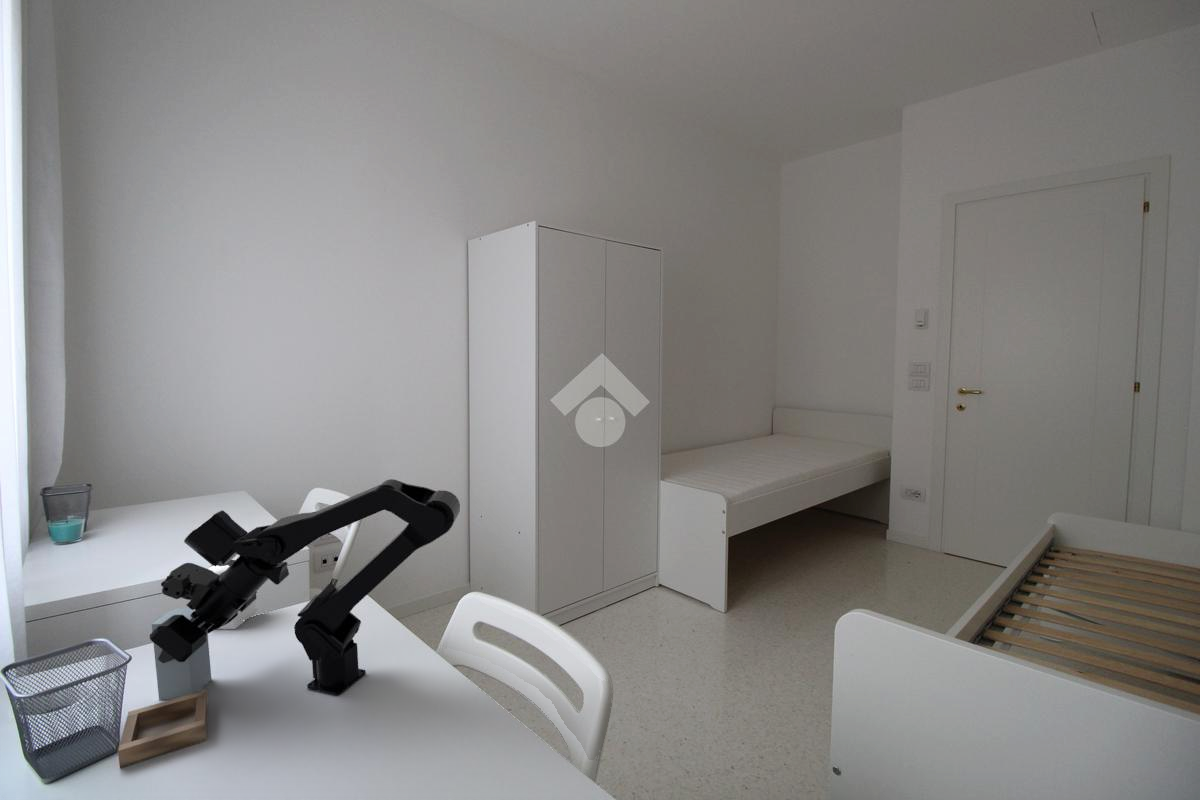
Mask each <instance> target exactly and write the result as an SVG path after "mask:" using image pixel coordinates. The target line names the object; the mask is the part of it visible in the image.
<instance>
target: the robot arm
mask: <svg viewBox="0 0 1200 800" xmlns="http://www.w3.org/2000/svg"><path fill="white" fill-rule="evenodd" d="M381 511H386V512H390V513H391V514H393V515H394V516H395V517H398V518H399V519H401V520H402V521H403V522H406V523H407V525H406V526H405V527H404V528H403V530H401V531H400V532H399V533H398V534H397V535H396V536H395V537H394V538H393V539H392V540H391V541H389V543H387V544H386V545H385V546H384V547H383V548H382V549H381V550H380V551H379V552H378V553H376V554H375V555H374V556H373V557H372V558H371V559H370V560H369V561H368V562H367V563H365V564H364V565H363V566H362V567H361V568H360V569H359V570H358V571H357V572H355V574H354V575H352V576H351V577H350V578H349V579H348V580H347V581H346V582H344V583H343V584H342V585H338V586H337V587H336V586H335V585H334V583H333V582H332V581H330V582H329V583H328V584H327V585H326V586H325V587H324V589H322V591H321V592H320V593H318V594H316V595H314V596H313V597H312V599H311V600H310V601H309V602H308V603H307V604H306V605H305V606H304V607H303V608H302V609H301V610H300V611H299V612H298V613H297V616H298V617H299V618H298V619H297V620H296V622H295V624H294V626H293V629H294V635H295V638H296V639H297V641H298V643H300V644H301V645H302V648H303V649H304V651H305V653H306V656H307V658H308V660H309V661H311V663H312V665H311V666H312V667H311V668H312V677H313V680H311V681H310V682H309V683H308V684H307V685H306V687H307V689H308V690H313V691H317V692H321V693H326V694H330V695H334V696H339V695H341V694H342V693H344V692H345V691H346V690H347V689H349V688H350V687H351V686H352V685H353V684H355V683H356V682H357V681H359V680H360V679H361V678H362V677H363V676H365V675H366V674H367V673H366V672H367V670H365V669H361V668H359V653H358V643H356V642H355V640H354V637H355V636H356V634H358V633H359V629H360V627H361V624H362V621H361V619H359V618H358V617H357V616H356V615H355V614H354V613H352V612H351V611H352V610H353V609H354V607H355V606H357V605H358V604H359V603H360V602H361V601H362V600H364V599H365V597H366V596H367V595H369V594H370V593H371V592H372V591H373V590H374V589H376V587H377V586H379V585H380V584H381V583H382V582H383V581H384V580H385V579H386V578H387V577H388V576H389V575H390V574H391V573H392V572H394V571H395V570H396V569H397V568H398V567H399V566H400V565H401V564H403V562H405V560H407V559H408V558H409V557H411V555H412V554H413V553H414V552H416V551H417V550H419V549H420V548H423V547H425V546H427V545H429V544H431V543H433V542H434V541H435V540H438V539H439V538H441V537H442V536H443V535H445V534H447V533H448V532H449V531H450V530H451V529H452V527H453V525H454V524H455V522H456V519H457V518H458V516H459V514H460V511H461V503H460V501H459V498H458V497H457V496H456V495H455V494H454V493H452V492H451V491H448V490H441V489H440V490H434V489H431V488H429V487H424V486H420V485H413V484H409V483H405V482H402V481H400V480H397V479H394V478H393V479H386V480H384V481H383V482H382V483H381V484H378V485H376V486H374V487H371V488H369V489H366V490H364V491H362V492H360V493H356V494H354V495H352V496H351V497H347V498H345V499H344V500H341V501H338V502H336V503H334V504H332V505H328V506H326V507H324V508H322V509H319V510H316V511H313V512H302V513H297V514H294V515H289V516H284V517H282V518H280V519H279V520H276V521H275V522H273V523H271V524H268V525H263V526H257V527H254V528H253V529H251V530H250V531H247V530H246V529H244V528H243V527H242V526H241V525H240V524H238V523H237V522H236V521H235V520H233V518H232V517H231V516H230V515H229V514H228V513H227V512H226V511H224V510H219V511H217V512H216V513H214V514H213V515H212V516H211V517H210V518H209V519H207V520H206V521H205V522H203V523H202V524H201V525H200V526H198V527H197V528H195V529H194V530H192V531H191V532H190V533H189V534H188V535H187V536H186V537H185V539H184V540H183V542H184V544H185V545H187V546H188V547H190V548H191V549H192V550H193V551H194V552H196V553H197V554H198V555H199V556H200V557H202V558H203V559H204V560H206V562H208V563H209V564H210V566H212V565H214V566H217V565H218V564H219V563H220V562H221V563H222V564H224V565H225V564H226V563H228V562H229V561H230V560H235V561H234V563H233V564H232V565H231V566H230V567H229V568H228V569H227V570H226V571H224V572H223V573H222V574H221V575H218V574H216V573H214V572H213V571H211V570H209V569H208V568H206V567H203V566H201V565H199V564H195V563H193V562H186V563H183V564H182V565H179V566H178V567H176V568H174V569H173V570H171V571H170V572H169V574H168V575H167V576H166V578H165V580H163V581H162V582H161V583H160V585H161V587H162V589H161V592H162V594H163V596H167V597H170V598H172V599H176V600H178V599H181V598H182V599H184V600H186V601H188V600H189V602H187V604H186V607H187V608H190V609H192V610H194V609H195V611H194V612H193V613H191V614H190V616H191V617H192V618H194V619H196V618H197V617H198V618H197V619H196V620H194V621H193V622H191V621H190V620H189V619H187V618H186V617H185V616H184V615H173V616H172V617H170V618H169V619H168V620H166V621H165V622H163V623H162V624H161V625H159V626H158V627H157V628H156V629H155V630H154V631H153V632H152V631H151V633H150V634H149V640H150V641H151V642H154V643H155V644H156V645H158V646H159V647H160V648H161V649H163V650H162V652H161V654H160V656H159V658H158V660H159V661H160V662H162V663H166V662H168V661H171V660H173V659H175V660H177V661H178V662H185V661H186V660H187V659H188V658H189V657H190V656H192V655H193V654H194V653H195V652H196V651H197V650H198V649H199V648H200V647H202V646H203V645H204V643H205V642H206V636H207V633H208V634H210V633H212V632H214V631H215V630H219V629H218V628H220V627H222V626H224V625H226V624H228V623H229V622H231V621H232V620H233V619H234V618H235V617H236V616H237V615H238V613H237V612H238V611H240V612H243V611H244V610H245V609H246V608H247V607H248V606H249V605H250V604H251V603H252V602H253V601H254V600H255V599H256V600H257V593H258V591H259V590H260V588H262V586H263V585H264V584H266V582H267V581H268V580H269V581H270V582H272V583H273V584H274V585H277V586H278V585H279V584H281V583H282V582H283V581H284V580H285V579H286V578H288V576H289V575H290V572H289V568H288V562H287V561H286V560H288V559H289V558H291V557H292V556H293V555H296V554H297V553H298V552H299V551H301V550H303V549H304V548H306V547H307V546H309V545H310V544H311V543H313V542H314V541H316V540H317V539H319V538H321V537H324V536H326V535H328V534H330V533H332V532H335V531H338V530H340V529H342V528H344V527H347V526H349V525H352V524H354V523H356V522H358V521H360V520H363V519H365V518H367V517H370V516H373V515H375V514H377V513H379V512H381ZM237 555H238V557H237V558H236V559H234V558H235V557H236V556H237ZM204 622H206V623H204ZM203 623H204V624H203ZM201 624H203V625H202V626H201V627H200V628H199V626H200V625H201ZM206 630H207V633H206ZM154 643H153V644H154Z"/></svg>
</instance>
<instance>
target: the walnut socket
mask: <svg viewBox="0 0 1200 800" xmlns="http://www.w3.org/2000/svg"><path fill="white" fill-rule="evenodd" d="M208 711H209V699H208V690H207V689H204V690H200V691H199V692H197V693H193V694H190V695H186V696H183V697H179V698H176V699H168V700H166V701H162V702H159V703H155V704H150V705H148V706H144V707H141V708H138V709H133V710H129V711H128V712H127V716H126V719H125V723H124V728H123V730H122V734H121V738H120V742H119V745H118V749H117V756H118V763H119V764H118V765H119V769H122V768H126V767H128V766H132V765H135V764H138V763H141V762H144V761H147V760H151V759H153V758H157V757H159V756H162V755H165V754H169V753H173V752H174V751H177V750H181V749H185V748H187V747H191V746H194V745H197V744H199V743H202V742H206V741H207V734H208V733H207V732H208V714H209V712H208Z"/></svg>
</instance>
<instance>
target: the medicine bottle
mask: <svg viewBox="0 0 1200 800" xmlns="http://www.w3.org/2000/svg"><path fill="white" fill-rule="evenodd" d="M235 560H236V559H232V560H230V561H229V562H228V563H226V564H225V565H224V564H222V563H221V562H220V563H219V564H218V565H217V566H214V565H210V566H209V567H208V568H207V569H209V570H211V571H213V572H214V573H216V574H218V575H221V574H222V573H223V572H224V571H226V570H227V569H228V568H229V567H230V566H231V565H232V564H233V563H234V561H235ZM237 613H238V615H237V616H236V617H235V618H234V619H233V620H232V621H231V622H229V623H228V624H226V625H224V626H222V627H220V628H218V629H217V630H236V629H237V628H238V627H240V626H241V625H243V624H244V623H245V622H246V621H247V620H246V619H248V620H249V619H250V618H251V617H253V616H255V615H256V614H257V613H258V602H257V598H256V599H255V600H254V601H253V602H252V603H251V604H250V605H249V606H248V607H247V608H246V609H245V610H244V611H243V612H240V611H238V612H237ZM243 620H246V621H243Z"/></svg>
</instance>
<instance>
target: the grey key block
mask: <svg viewBox="0 0 1200 800" xmlns="http://www.w3.org/2000/svg"><path fill="white" fill-rule="evenodd" d="M194 611H195V609H194V610H192V609H190V608H189V607H187V608H173V609H171V610H170V611H169V612H167V613H166V614H164V615H163V616H161V617H160V618H159V619H157V620H156V621H155V622H153V623H151V633H152V632H153V631H154V630H155V629H156V628H157V627H158V626H159V625H161V624H162V623H163V622H165V621H166V620H168V619H169V618H170V617H172V616H173V615H184V616H185V617H186V618H187V619H189V620H190V621H191V622H193V621H194V620H196V619H197V618H198V617H197V618H196V619H194V618H192V617H191V616H190V614H191V613H193V612H194ZM204 623H206V622H204ZM204 623H203V624H204ZM203 624H201V625H200V626H199V628H200V627H201V626H202V625H203ZM206 633H207V630H206ZM209 646H210V644H209V633H207V636H206V642H205V643H204V645H203V646H202V647H200V648H199V649H198V650H197V651H196V652H195V653H194V654H193V655H192V656H190V657H189V658H188V659H187V660H186V661H185V662H178V661H177V660H175V659H173V660H171V661H168V662H166V663H162V662H160V661H159V660H158V658H159V656H160V654H161V652H162V650H163V649H161V648H160V647H159V646H158V645H156V644H155V643H154V642H153V650H154V651H153V653H154V662H155V672H156V681H157V683H156V684H157V693H158V700H159V701H160V700H163V701H164V700H172V699H176V698H179V697H183V696H186V695H190V694H193V693H197V692H200V691H202V689H203V688H204V687H205V686H206V685H207V684H208V683H210V682H211V681H212V670H211V657H210V647H209Z"/></svg>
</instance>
